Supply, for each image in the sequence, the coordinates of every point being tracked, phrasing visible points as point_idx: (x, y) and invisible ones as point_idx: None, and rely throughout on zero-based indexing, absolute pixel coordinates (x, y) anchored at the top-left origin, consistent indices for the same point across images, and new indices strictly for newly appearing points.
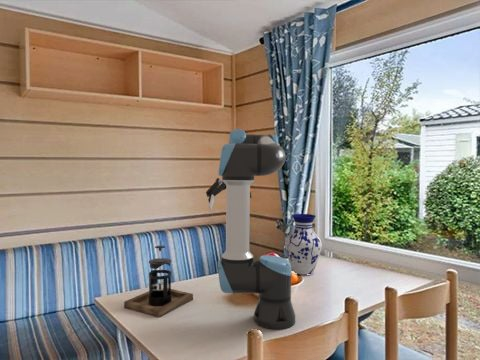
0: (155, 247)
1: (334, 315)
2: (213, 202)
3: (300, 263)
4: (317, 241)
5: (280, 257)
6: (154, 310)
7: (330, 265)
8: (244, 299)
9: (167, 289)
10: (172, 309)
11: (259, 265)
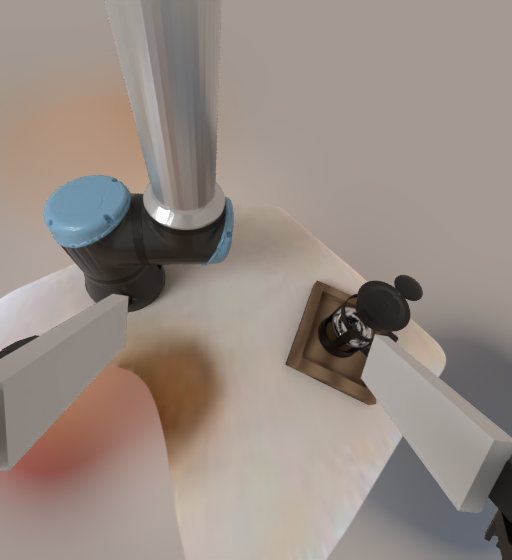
0: (414, 279)
1: None
2: (409, 442)
3: None
4: None
5: (59, 217)
6: (325, 285)
7: None
8: (174, 378)
9: (333, 318)
10: (305, 309)
11: (135, 194)
